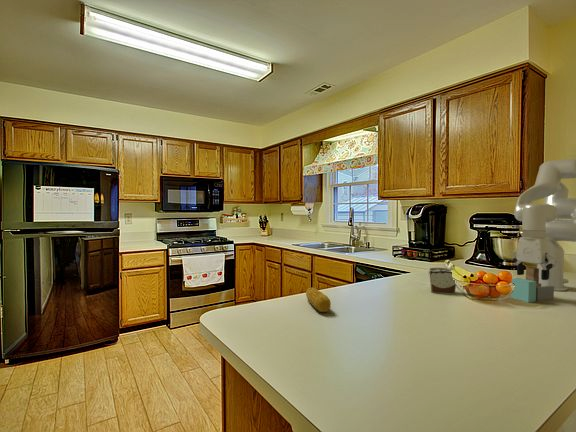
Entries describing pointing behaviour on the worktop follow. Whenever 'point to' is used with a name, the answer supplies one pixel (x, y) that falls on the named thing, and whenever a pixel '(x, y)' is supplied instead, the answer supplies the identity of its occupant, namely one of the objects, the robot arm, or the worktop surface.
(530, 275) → the rod
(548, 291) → the guide channel
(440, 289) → the food container
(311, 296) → the food
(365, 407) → the worktop surface
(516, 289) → the teal rectangular block
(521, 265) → the robot arm
